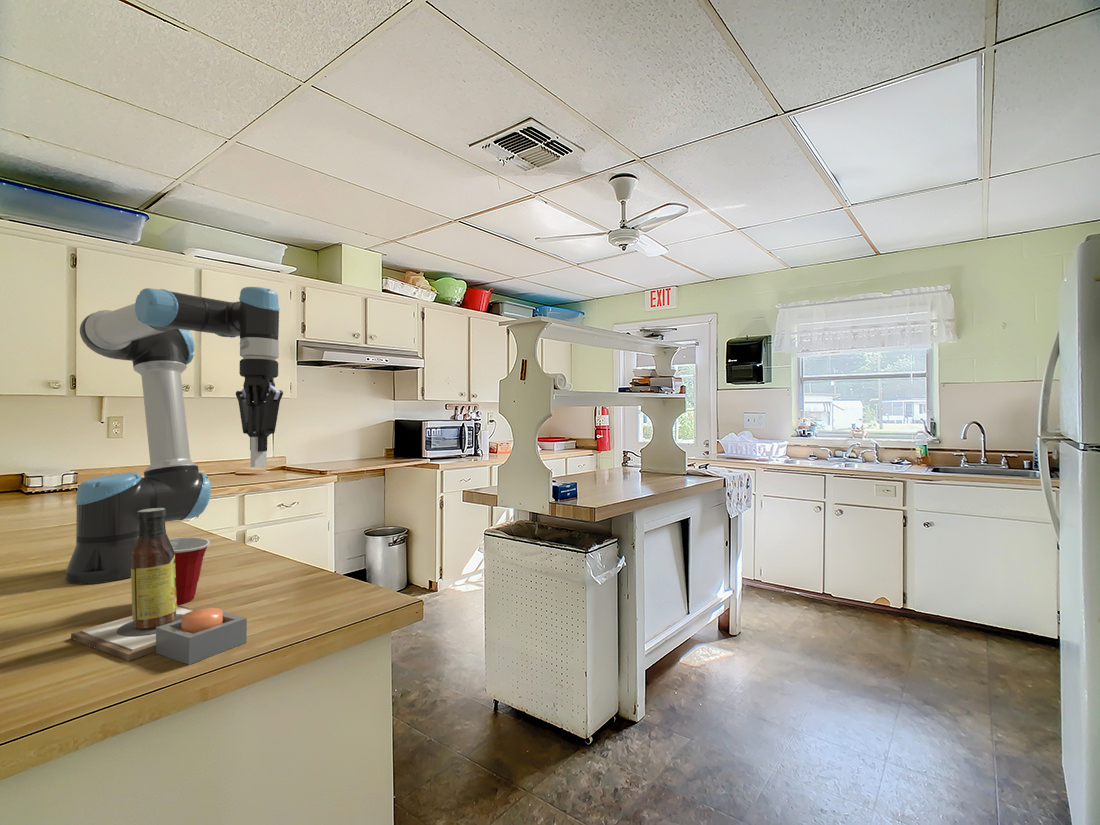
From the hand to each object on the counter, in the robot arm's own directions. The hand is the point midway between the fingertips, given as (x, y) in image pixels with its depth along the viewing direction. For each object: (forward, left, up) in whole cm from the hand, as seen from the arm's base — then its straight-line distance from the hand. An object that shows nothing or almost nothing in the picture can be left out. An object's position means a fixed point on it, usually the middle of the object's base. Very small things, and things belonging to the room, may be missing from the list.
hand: (258, 466), depth 118 cm
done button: (+21, -24, -25) cm, 40 cm away
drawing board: (+7, -24, -26) cm, 36 cm away
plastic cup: (-6, -13, -27) cm, 30 cm away
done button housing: (+21, -24, -26) cm, 41 cm away
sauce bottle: (+7, -24, -25) cm, 36 cm away
